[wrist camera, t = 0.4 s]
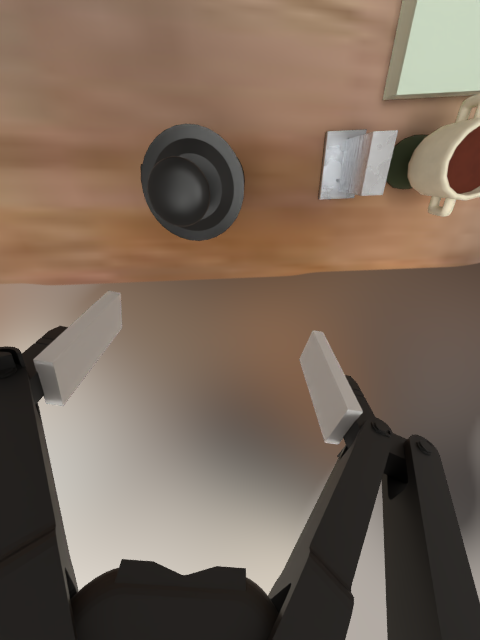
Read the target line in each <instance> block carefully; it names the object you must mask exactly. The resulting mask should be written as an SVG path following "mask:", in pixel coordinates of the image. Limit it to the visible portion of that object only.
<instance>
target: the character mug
mask: <svg viewBox="0 0 480 640" xmlns="http://www.w3.org/2000/svg"><path fill="white" fill-rule="evenodd" d="M476 106H478V107H477V109H476V112H475V115H474V118H473V119H469V120H468V117H469V114H470V111H471V109H472V108H473V107H476ZM386 181H387V182H388V183H389V184H390V185H391V186H392V187H394V188H398V189H410V188H414V189H415V190H416V191H417V192H419V193H420V194H421V195H427V196H432V197H431V200H430V204H429V207H428V212H429V213H430V214H433V215H438V216H442V217H445V216H448V215H450V213H451V212H452V210H453V207H454V205H455V202H456V199H457V200H469V199H473V198H477V197H480V94H477V95H474V96H471V97H469V98H467V99H466V100H464V101H463V102H462V104H461V106H460V109H459V112H458V116H457V119H456V122H455V123H452V124H449V125H445V126H442V127H440V128H439V129H437V130H436V131H434V132H433V133H431V134H430V135H415V136H411V137H408V138H405V139H404V140H402V141H401V142H400V143H399V144H398V145H396V146H395V147H394V150H393V154H392V158H391V162H390V166H389V171H388V175H387V179H386ZM441 198H446V199H445V202H444V205H443V207H440V206H439V203H440V200H441Z"/></svg>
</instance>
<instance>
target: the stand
mask: <svg viewBox="0 0 480 640" xmlns="http://www.w3.org/2000/svg"><path fill="white" fill-rule="evenodd" d="M477 94H480V0H402V5H401V10H400V15H399V20H398V25H397V30H396V35H395V40H394V45H393V50H392V55H391V60H390V65H389V70H388V75H387V80H386V85H385V90H384V95H383V100H394V99H413V98H431V97H450V96H468V95H477Z"/></svg>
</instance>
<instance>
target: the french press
mask: <svg viewBox="0 0 480 640" xmlns="http://www.w3.org/2000/svg"><path fill="white" fill-rule="evenodd" d="M244 182H245V180H244V172H243V169H242V165H241V163H240V161H239V159H238V158H237V157H236V155H235V153H234V152H233V150H232V149H231V147H230V146H229V145H228V143H227V142H226V141H225V140H224V139H222V138H221V137H220V136H219V135H218V134H216V133H215V132H213V131H212V130H210V129H208V128H205V127H202V126H199V125H195V124H181V125H175V126H173V127H171V128H168V129H166V130H164V131H163V132H162V133H161V134H159V135H158V136H157V137H156V138H155V139H154V141H153V142H152V143H151V145H150V146H149V148H148V150H147V152H146V154H145V157H144V161H143V164H141V183H142V188H143V193H144V196H145V199H146V202H147V204H148V206H149V208H150V210H151V212H152V214H153V215H154V216H155V218H156V219H157V220H158V222H159V223H160V224H161V225H162V226H163V227H164V228H166V229H167V230H169V231H170V232H171V233H173V234H175V235H177V236H179V237H181V238H184V239H188V240H196V241H201V240H208V239H211V238H214V237H217V236H218V235H220V234H222V233H223V232H225V231H226V230H227V229H228V228H229V227H230V226H231V225H232V223H233V222H234V221H235V219H236V218H237V216H238V214H239V211H240V209H241V206H242V202H243V197H244Z"/></svg>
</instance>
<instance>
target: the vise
mask: <svg viewBox="0 0 480 640" xmlns="http://www.w3.org/2000/svg"><path fill="white" fill-rule="evenodd" d="M366 130H367V129H366ZM366 130H346V131H328V132H326V133H325V142H324V151H323V160H322V169H321V177H320V186H319V195H318V199H340V198H354V195H360V196H366V195H383V192H384V188H385V183H386V179H387V175H388V171H389V166H390V162H391V158H392V154H393V150H394V145H395V141H396V137H397V133H398V130H394V131H375V132H371V133H367V134H366Z"/></svg>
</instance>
